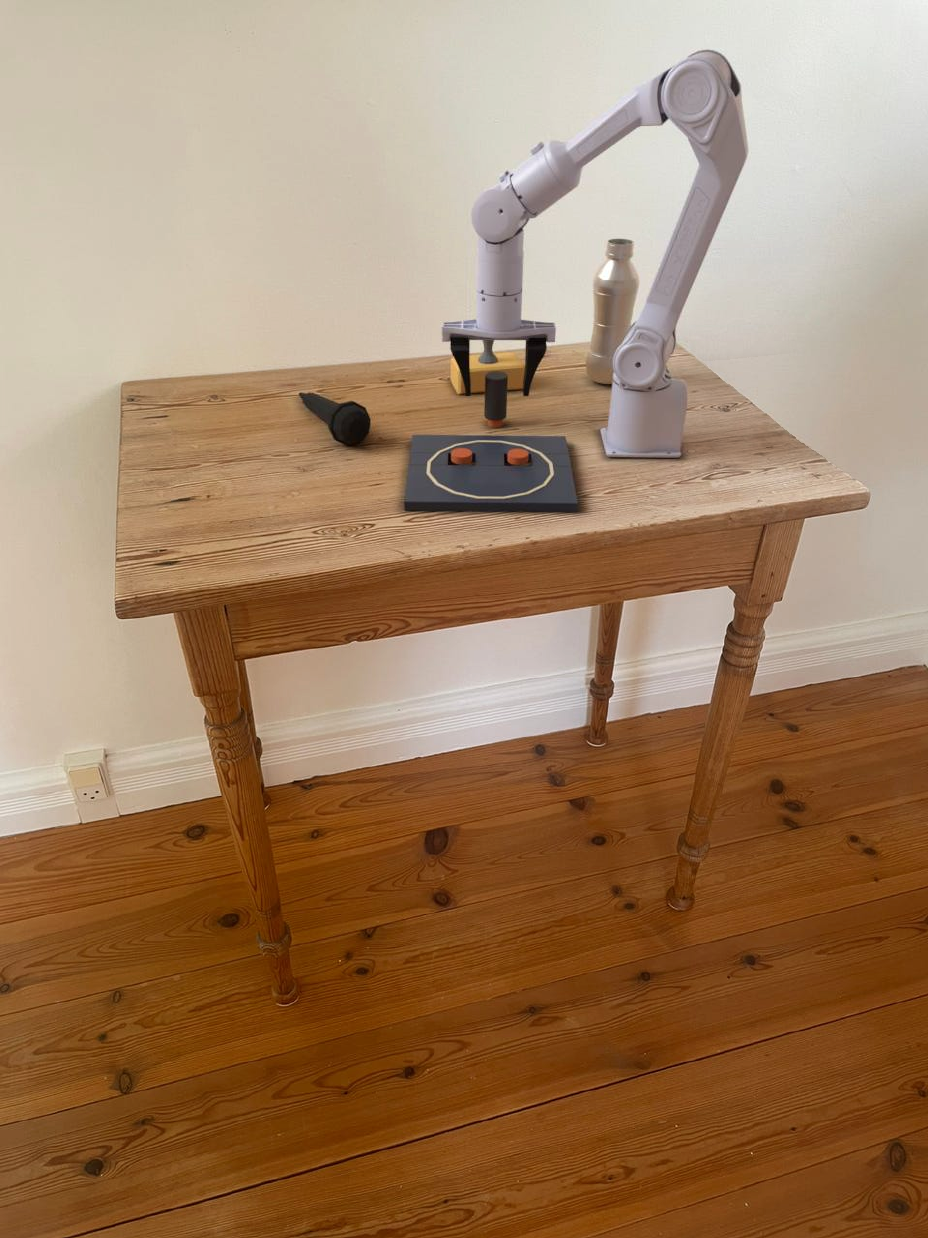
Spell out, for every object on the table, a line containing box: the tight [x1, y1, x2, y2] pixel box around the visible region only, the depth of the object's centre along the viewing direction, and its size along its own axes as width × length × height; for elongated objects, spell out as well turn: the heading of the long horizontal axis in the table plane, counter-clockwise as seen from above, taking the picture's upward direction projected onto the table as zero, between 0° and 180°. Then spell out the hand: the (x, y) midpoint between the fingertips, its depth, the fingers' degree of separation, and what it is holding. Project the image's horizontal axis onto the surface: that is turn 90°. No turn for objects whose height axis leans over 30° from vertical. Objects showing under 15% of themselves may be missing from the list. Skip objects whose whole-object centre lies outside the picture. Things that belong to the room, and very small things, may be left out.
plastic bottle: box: [585, 238, 641, 385], centre depth 133 cm, size 6×7×20 cm
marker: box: [483, 371, 508, 428], centre depth 124 cm, size 3×3×7 cm
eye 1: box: [451, 448, 472, 465], centre depth 114 cm, size 3×3×1 cm
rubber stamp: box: [450, 340, 525, 395], centre depth 134 cm, size 10×6×12 cm, turn 103°
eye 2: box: [507, 449, 529, 466], centre depth 114 cm, size 3×3×1 cm
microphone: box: [298, 391, 372, 447], centre depth 125 cm, size 6×6×20 cm
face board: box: [403, 434, 579, 513], centre depth 113 cm, size 20×18×1 cm
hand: (496, 393), depth 123 cm, fingers open, 7 cm apart
